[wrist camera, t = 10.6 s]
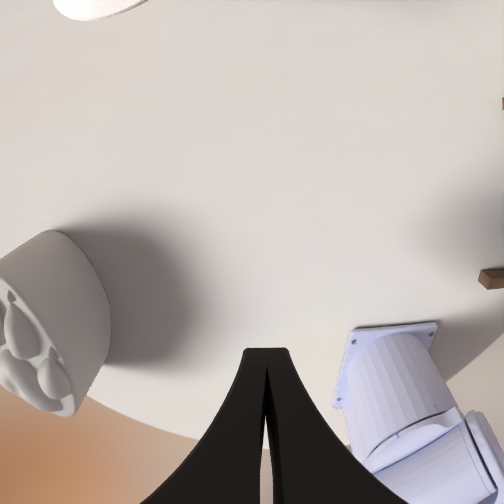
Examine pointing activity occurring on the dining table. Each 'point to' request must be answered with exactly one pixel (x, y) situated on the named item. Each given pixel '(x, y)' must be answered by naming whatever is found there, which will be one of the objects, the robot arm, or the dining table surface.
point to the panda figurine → (94, 8)
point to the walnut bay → (492, 273)
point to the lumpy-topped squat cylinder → (51, 323)
